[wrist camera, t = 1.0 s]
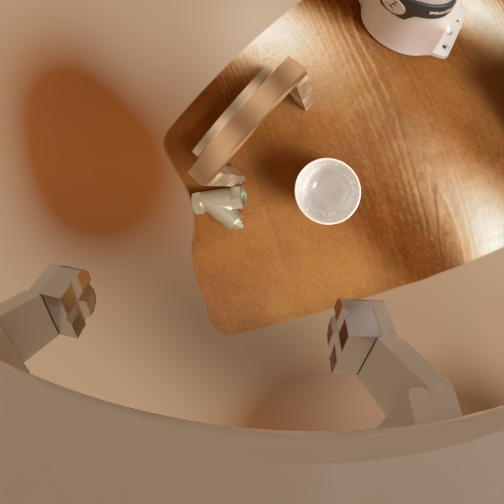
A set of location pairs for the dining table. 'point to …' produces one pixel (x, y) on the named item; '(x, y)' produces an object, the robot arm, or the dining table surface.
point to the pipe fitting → (222, 205)
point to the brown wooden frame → (247, 121)
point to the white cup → (327, 191)
